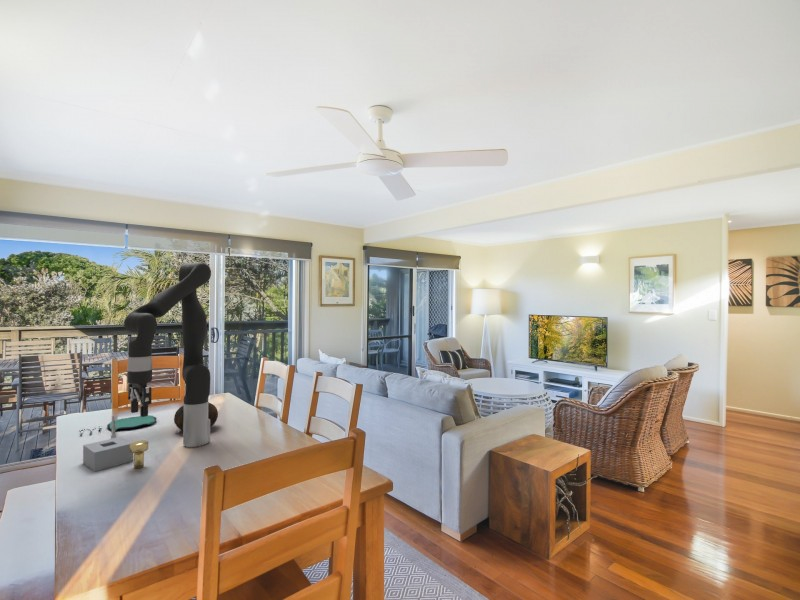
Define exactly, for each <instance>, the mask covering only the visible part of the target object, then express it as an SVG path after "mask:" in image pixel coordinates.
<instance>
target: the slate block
mask: <svg viewBox="0 0 800 600" xmlns="http://www.w3.org/2000/svg"><path fill="white" fill-rule="evenodd" d="M131 443H133V441H132V442H131V441H130V440H128V439H126V438H124V437H123V436H116V438H113V439H111V438H108V439H105V440H99V441H96V442H92V443H91V442H90V443H87V444H83V445H82V449H83V450H82V454H83V456H82V457H83V458H82V463H83V464H84V465H85V466H86V467H88V468H89V469H90V470H92V471H93V472H97V471H101V470H105V469H108V468H113V467H116V466H120V465H122V464H126V463H130V461H131V462H134V453H130V444H131ZM119 464H120V465H119ZM115 465H116V466H115Z"/></svg>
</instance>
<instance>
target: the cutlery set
mask: <svg viewBox="0 0 800 600" xmlns="http://www.w3.org/2000/svg"><path fill="white" fill-rule="evenodd" d="M114 421H115V432H116V431H117V430H125V429H133V428H140V427H143V426H147V425H148V426H150V425H153V424H154V423H155V422H156V421H157V417H156V416H154V415H150V414H148V416H145V417H141V416H140V415H138V416H131V417H126V418H125V417H124V418H119V419H114ZM106 428H108V429H110V430H111V431H112V424H111V421H110V422H109V423H108V424H107V426H106ZM83 429H84V428H83ZM98 429H99V430H101V429H103V428H99V427H98ZM84 430H85V431H86V429H84ZM99 430H98V431H99ZM81 431H83V430H81ZM81 431H80V434H79V437H80V436H82V437H83V434H82V433H81ZM101 431H102V430H101ZM101 431H100V433H102V432H101ZM83 432H84V431H83ZM90 434H92V435H93V430H92V431H91V430H89V435H90Z"/></svg>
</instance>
